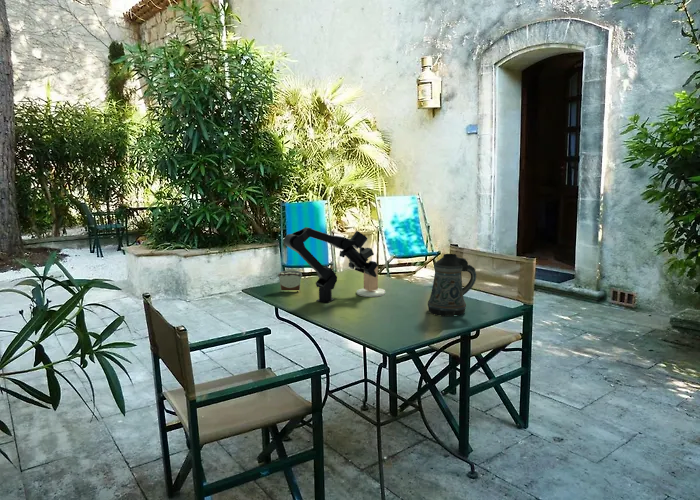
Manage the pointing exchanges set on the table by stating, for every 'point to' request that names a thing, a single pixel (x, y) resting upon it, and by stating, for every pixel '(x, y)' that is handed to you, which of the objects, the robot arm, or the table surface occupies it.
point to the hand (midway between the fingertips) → (372, 275)
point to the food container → (290, 280)
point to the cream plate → (370, 292)
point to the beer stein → (450, 286)
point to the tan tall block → (371, 281)
